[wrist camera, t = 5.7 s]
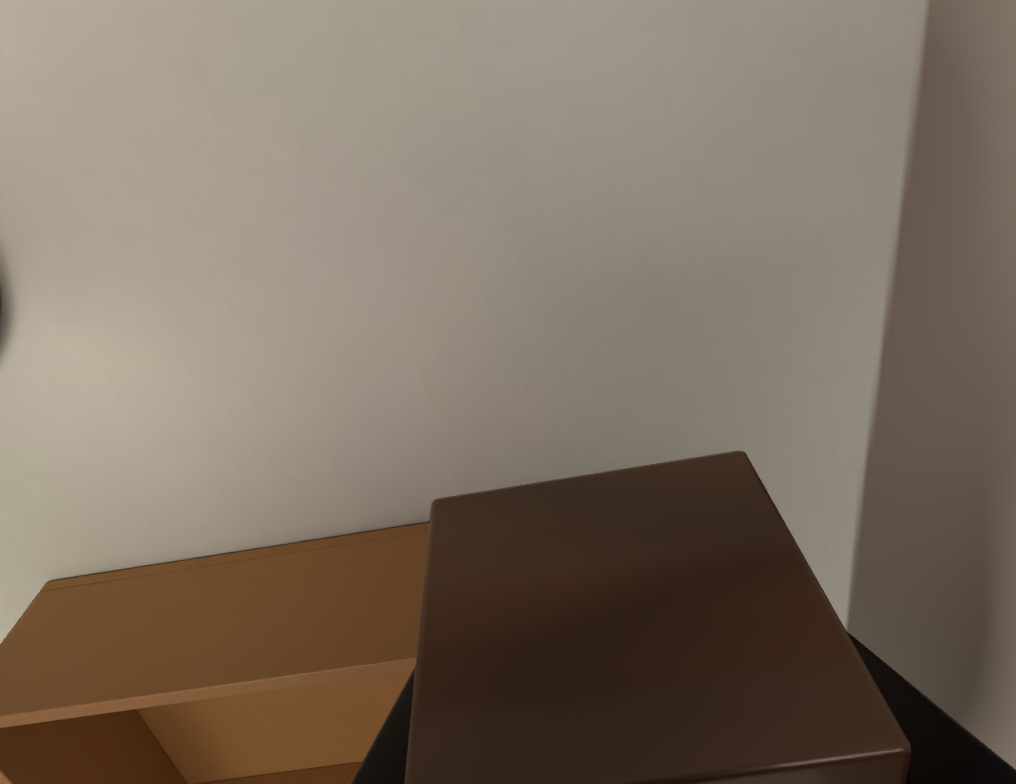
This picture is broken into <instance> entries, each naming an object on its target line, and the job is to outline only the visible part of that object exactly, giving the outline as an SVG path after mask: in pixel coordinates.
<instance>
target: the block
mask: <svg viewBox="0 0 1016 784" xmlns="http://www.w3.org/2000/svg"><path fill="white" fill-rule="evenodd" d="M910 757H911V747H910V743H909V741H908V739H907V738H906V736H905V734H904V732H903V731H902V729H901V727H900V725H899V723H898V722H897V720H896V718H895V716H894V715H893V713H892V711H891V709H890V708H889V706H888V704H887V702H886V701H885V699H884V697H883V695H882V693H881V692H880V690H879V688H878V686H877V685H876V683H875V681H874V679H873V678H872V676H871V674H870V672H869V671H868V669H867V667H866V665H865V663H864V662H863V660H862V658H861V656H860V655H859V653H858V651H857V649H856V648H855V646H854V644H853V642H852V640H851V639H850V637H849V635H848V633H847V632H846V630H845V628H844V626H843V625H842V623H841V621H840V619H839V618H838V616H837V614H836V612H835V610H834V609H833V607H832V605H831V603H830V602H829V600H828V598H827V596H826V595H825V593H824V591H823V589H822V587H821V586H820V584H819V582H818V580H817V579H816V577H815V575H814V573H813V572H812V570H811V568H810V566H809V565H808V563H807V561H806V559H805V557H804V556H803V554H802V552H801V550H800V549H799V547H798V545H797V543H796V542H795V540H794V538H793V536H792V534H791V533H790V531H789V529H788V527H787V526H786V524H785V522H784V520H783V519H782V517H781V515H780V513H779V512H778V510H777V508H776V506H775V504H774V503H773V501H772V499H771V497H770V496H769V494H768V492H767V490H766V489H765V487H764V485H763V483H762V481H761V480H760V478H759V476H758V474H757V473H756V471H755V469H754V467H753V466H752V464H751V462H750V460H749V459H748V457H747V455H746V453H745V452H743V451H733V452H726V453H720V454H714V455H708V456H701V457H695V458H689V459H683V460H676V461H670V462H664V463H657V464H651V465H645V466H639V467H632V468H626V469H620V470H614V471H607V472H601V473H595V474H588V475H582V476H576V477H570V478H563V479H557V480H551V481H545V482H538V483H532V484H526V485H520V486H513V487H507V488H501V489H494V490H488V491H482V492H476V493H469V494H463V495H457V496H451V497H444V498H438V499H436V500H434V501H433V502H432V504H431V511H430V521H429V532H428V542H427V553H426V563H425V574H424V584H423V594H422V605H421V615H420V626H419V636H418V646H417V657H416V667H415V678H414V688H413V699H412V709H411V719H410V730H409V740H408V751H407V761H406V772H405V782H404V784H905V783H906V778H907V772H908V767H909V762H910Z"/></svg>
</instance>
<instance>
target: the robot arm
mask: <svg viewBox="0 0 1016 784" xmlns="http://www.w3.org/2000/svg"><path fill="white" fill-rule="evenodd" d="M846 632H847V631H846ZM847 633H848V632H847ZM848 635H849V637H850V639H851V640H852V642H853V644H854V646H855V648H856V649H857V651H858V653H859V655H860V656H861V658H862V660H863V662H864V663H865V665H866V667H867V669H868V671H869V672H870V674H871V676H872V678H873V679H874V681H875V683H876V685H877V686H878V688H879V690H880V692H881V693H882V695H883V697H884V699H885V701H886V702H887V704H888V706H889V708H890V709H891V711H892V713H893V715H894V716H895V718H896V720H897V722H898V723H899V725H900V727H901V729H902V731H903V732H904V734H905V736H906V738H907V739H908V741H909V743H910V747H911V757H910V762H909V767H908V772H907V778H906V783H905V784H1016V770H1015V769H1014V768H1013V767H1012V766H1010V765H1009V764H1008V763H1007V762H1005V761H1004V760H1003V759H1002V758H1001V757H999V756H998V755H997V754H996V753H994V752H993V751H992V750H991V749H990V748H988V747H987V746H986V745H985V744H984V743H982V742H981V741H980V740H979V739H977V738H976V737H975V736H973V734H971V733H970V732H969V731H968V730H966V729H965V728H964V727H963V726H962V725H960V724H959V723H958V722H957V721H955V720H954V719H953V718H952V717H950V716H949V715H948V714H947V713H946V712H944V711H943V710H942V709H941V708H940V707H938V706H937V705H936V704H935V703H933V702H932V701H931V700H930V699H928V698H927V697H926V696H925V695H924V694H922V693H921V692H920V691H919V690H918V689H916V688H915V687H914V686H913V685H911V684H910V683H909V682H908V681H907V680H905V679H904V678H903V677H902V676H901V675H899V674H898V673H897V672H896V671H894V670H893V669H892V668H891V667H890V666H888V665H887V664H886V663H885V662H883V661H882V660H881V659H880V658H879V657H877V656H876V655H875V654H874V653H872V652H871V651H870V650H869V649H868V648H866V647H865V646H864V645H863V644H861V643H860V642H859V641H858V640H856V639H855V638H854V637H853V636H851V635H850V634H849V633H848ZM415 667H416V665H415ZM415 667H414V669H413V671H412V673H411V674H410V676H409V678H408V680H407V682H406V684H405V685H404V687H403V689H402V691H401V693H400V694H399V696H398V698H397V700H396V702H395V704H394V705H393V707H392V709H391V711H390V713H389V715H388V716H387V718H386V720H385V722H384V724H383V725H382V727H381V729H380V731H379V733H378V735H377V736H376V738H375V740H374V742H373V744H372V746H371V747H370V749H369V751H368V753H367V755H366V756H365V758H364V760H363V762H362V764H361V766H360V767H359V769H358V771H357V773H356V775H355V777H354V778H353V780H352V782H351V784H404V782H405V772H406V761H407V751H408V740H409V730H410V719H411V709H412V699H413V688H414V678H415Z"/></svg>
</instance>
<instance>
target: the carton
mask: <svg viewBox="0 0 1016 784" xmlns="http://www.w3.org/2000/svg"><path fill="white" fill-rule="evenodd" d="M428 532H429V523H422V524H416V525H409V526H403V527H396V528H390V529H383V530H377V531H371V532H364V533H358V534H351V535H345V536H338V537H332V538H325V539H319V540H313V541H306V542H300V543H293V544H287V545H280V546H274V547H267V548H261V549H255V550H248V551H242V552H235V553H229V554H222V555H216V556H209V557H203V558H197V559H190V560H184V561H177V562H171V563H164V564H158V565H151V566H145V567H138V568H132V569H126V570H119V571H113V572H106V573H100V574H93V575H87V576H80V577H74V578H68V579H61V580H55V581H48V582H46V584H45V585H44V586H43V588H42V589H41V590H40V593H38V594H37V596H36V597H35V598H34V600H33V601H32V602H31V604H30V605H29V607H28V608H27V609H26V611H25V612H24V613H23V615H22V616H21V617H20V619H19V620H18V621H17V623H16V624H15V625H14V627H13V628H12V629H11V631H10V632H9V633H8V635H7V636H6V637H5V639H4V640H3V641H2V643H1V644H0V784H351V782H352V780H353V778H354V777H355V775H356V773H357V771H358V769H359V767H360V766H361V764H362V762H363V760H364V758H365V756H366V755H367V753H368V751H369V749H370V747H371V746H372V744H373V742H374V740H375V738H376V736H377V735H378V733H379V731H380V729H381V727H382V725H383V724H384V722H385V720H386V718H387V716H388V715H389V713H390V711H391V709H392V707H393V705H394V704H395V702H396V700H397V698H398V696H399V694H400V693H401V691H402V689H403V687H404V685H405V684H406V682H407V680H408V678H409V676H410V674H411V673H412V671H413V669H414V667H415V665H416V657H417V646H418V636H419V626H420V615H421V605H422V594H423V584H424V574H425V563H426V553H427V542H428Z"/></svg>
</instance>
